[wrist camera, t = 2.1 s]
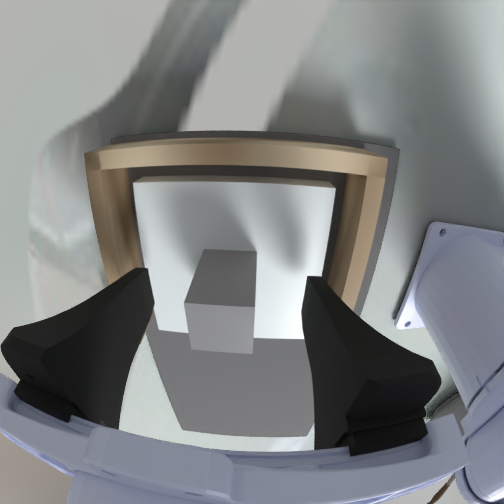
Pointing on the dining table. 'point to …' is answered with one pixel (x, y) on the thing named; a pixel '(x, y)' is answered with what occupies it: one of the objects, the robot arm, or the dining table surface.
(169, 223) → the cover plate
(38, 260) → the dining table surface
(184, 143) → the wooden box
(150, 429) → the dining table surface
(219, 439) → the dining table surface
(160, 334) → the rubber mat
